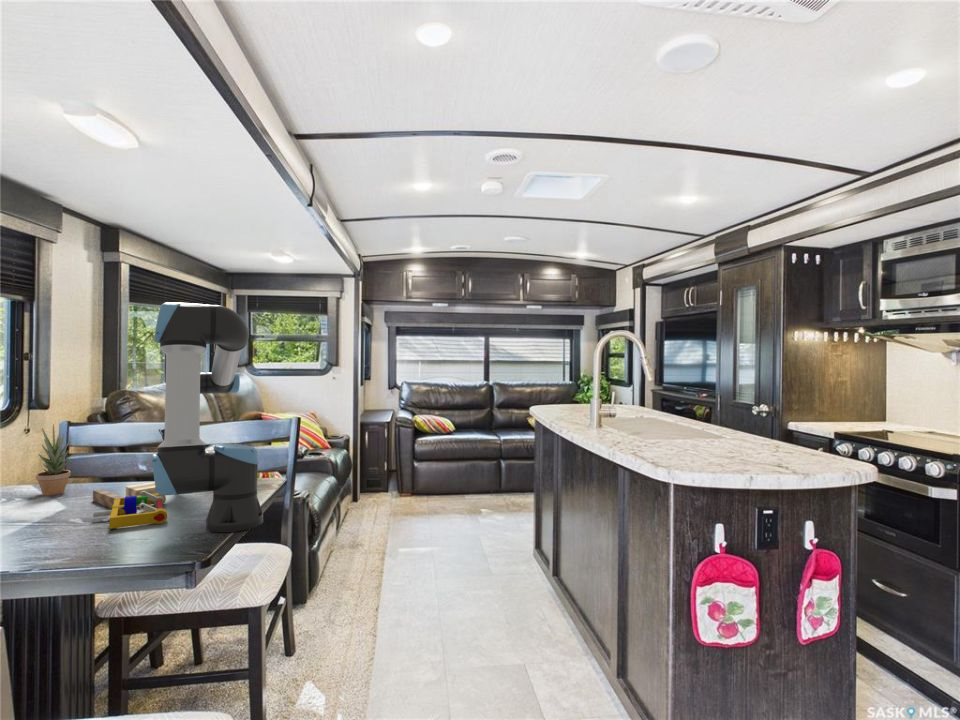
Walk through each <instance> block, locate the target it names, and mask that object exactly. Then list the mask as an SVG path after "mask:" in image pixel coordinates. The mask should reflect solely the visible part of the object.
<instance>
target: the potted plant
mask: <svg viewBox="0 0 960 720" xmlns="http://www.w3.org/2000/svg"><path fill="white" fill-rule="evenodd" d="M41 430H42V433H43V436H44V438H43V440H44V444H45V446H44V444H41V447H42V449H43V451H44V452H45V453H46V455H47V457H48V458H47V457H43V456H42V455H41V454H39V453H38V456H39V457H40V459H41V460H42V461H44V463H42V465H43V466H44V468H43V470H44V471H42V472H39V473H36V474H35V480H36V481H37V482H38V485H39V487H40V491H41V493H42V495H43V494H44V495H43V496H55V495H54V494H57V495H61V494H63V493H65V491H66V487H67V484H68V479H69V477H70V476H71V473H72V472H71V470H69V469H65V467H66V466H67V465H68V464H69V463H70V462H71V461H72V460H73V458H71V457H70V456H68V457H67V458H66V456H67V455H68V453H69V451H70V450H67V451H66V449H67V447H68V446H69V442H67V443H66V445H65V446H64V448H63V447H62V446H63V443H64V439H65V434H63V435H62V437H61V439H60V438H59V437H57V438H56V435H55V432H56V431H55V426H54V423H52V442H51V441H50V439H49V437H48V435H47V433H46V431H45V430H44V428H43V427H42V429H41ZM62 448H63V449H62ZM65 458H66V459H65ZM64 459H65V460H64ZM45 468H46V469H45ZM60 493H61V494H60Z"/></svg>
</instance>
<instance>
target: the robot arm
mask: <svg viewBox="0 0 960 720" xmlns="http://www.w3.org/2000/svg"><path fill="white" fill-rule="evenodd" d="M249 337H250V335H249V328H248V326H247V323H246V322H245V321H244V319H243V318H242V317H241V315H240V314H239V313H237V312H236V311H235V310H233V309H231V308H229V307H227V306H225V305H221V304H220V305H218V304H203V303H193V302H192V303H190V302H183V301H182V302H181V301H179V302H168V301H167V302H164V303H162V304H161V305H160V306H159V309H158V315H157V319H156V325H155V331H154V339H153V340H154V343H156V344H159V350H160V351H161V352H163V354H165V388H164V389H165V391H164V392H165V397H164V398H165V399H164V400H165V401H164V402H165V403H164V426H163V427H162V428H159V429H158V433H159V434H160V435H161V438H162V442H161V443H159V445H158V446H157V452H154V453H152V454H151V464H152V471H153V480H154V482H155V488H156V492H157V493H158V494H159V495H162V496H165V497H166V496H178V495H187V494H197V493H205V492H207V493H208V492H213V494H212V497H213V498H212V502H211V505H210V508H209V510H208V512H207V513H208V514H207V516H206V519H205V529H206V531H210V532H212V533H236V532H242V531H243V532H244V531H246V530H251V529H255V528H257V527H259V526H261V525H263V523H264V513H263V511H262V507H261V504H260V501H259V497H258V465H259V457H258V456H259V455H258V450H257V448H255V447H254V446H252V445H246V444H240V443H217V444H214V446H213V449H206V443H205V442H204V441H203V439H201V438H200V436H201V435H200V427H201V426H200V423H201V421H200V418H201V417H200V416H201V414H200V413H201V404H200V403H201V395H204V394H205V395H206V394H208V395H209V394H210V395H211V394H213V395H214V394H215V395H216V394H225V395H226V394H227V395H229V394H236V393H238V392H239V390H240V387H241V386H240V385H241V383H240V382H241V381H240V374H239V372H238V373H237V369H238V366H239V362H240V358H241V354H242V351H243V349H245V348H246V347H247V344H248V341H249ZM207 345H216V346H215V352H214V356H213V362H212V366H211V367H212V368H211V372H208V371H207V372H206V371H205V372H201V355H203V354H204V353H205V352H206V351H207Z"/></svg>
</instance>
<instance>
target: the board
mask: <svg viewBox="0 0 960 720" xmlns="http://www.w3.org/2000/svg"><path fill="white" fill-rule="evenodd" d="M125 497H126V496H121V495H119V494H116V493H113V492H111V491H107V490H105V489H103V488H98V489H93V491H92V501H93V502H95V503H97V504H100V505H102V506H105V507H108V508H109V509H112V506H113V504H114V500H115V499H120V498H125Z"/></svg>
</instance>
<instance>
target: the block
mask: <svg viewBox="0 0 960 720" xmlns="http://www.w3.org/2000/svg"><path fill="white" fill-rule="evenodd" d="M142 491H146V492H148V493H150V494H156V493H157V492H156V488H155V481H153V482H152V481H151V482H146V483H138V484H134V485H133V484H132V485H126V486H125V497H130V496H141V495H140V493H141V492H142Z"/></svg>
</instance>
